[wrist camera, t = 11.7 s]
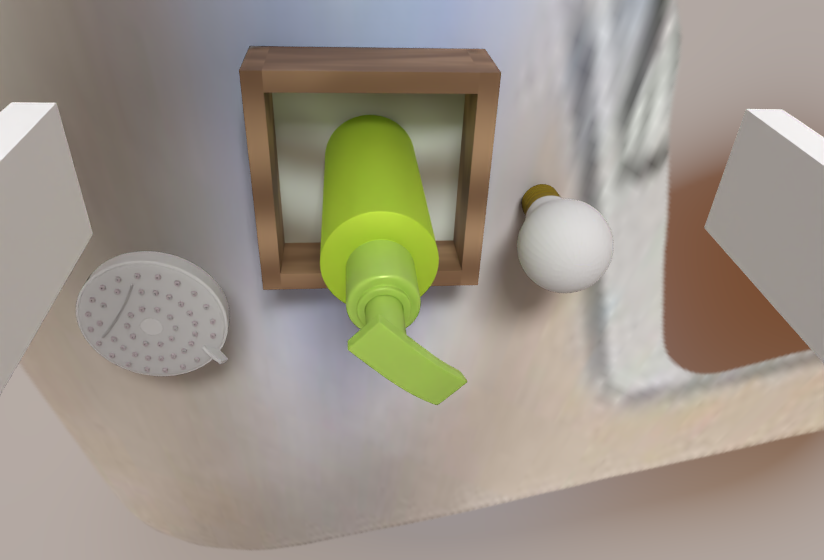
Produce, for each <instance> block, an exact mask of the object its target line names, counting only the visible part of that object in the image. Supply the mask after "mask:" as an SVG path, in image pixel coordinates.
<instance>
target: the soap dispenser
mask: <svg viewBox="0 0 824 560" xmlns="http://www.w3.org/2000/svg"><path fill="white" fill-rule="evenodd" d="M438 265H439V255H438V249H437V245H436V241H435V236H434V232H433V228H432V224H431V219H430V215H429V211H428V207H427V202H426V198H425V194H424V190H423V185H422V181H421V177H420V173H419V168H418V164H417V160H416V156H415V151H414V147H413V144H412V141H411V139H410V137H409V135H408V134H407V132H406V131H405V130H404V129H403V128H402V127H401V126H400V125H399V124H397V123H396V122H394V121H393V120H391V119H388V118H386V117H383V116H378V115H362V116H357V117H354V118H352V119H349V120H347V121H346V122H344V123H343V124H341V125H340V126H339V127H338V128H337V129H336V130H335V131H334V132H333V134H332V135H331V137H330V139H329V141H328V143H327V147H326V152H325V169H324V189H323V209H322V229H321V249H320V270H321V274H322V277H323V280H324V282H325V284H326V286H327V287H328V289H329V290H330V291H331V292H332V293H333V295H334V296H336V297H337V298H338V299H339V300H341V301H342V302H344V303H345V304H346V309H347V313H348V316H349V318H350V320H351V321H352V322H353V323H354V325H356V326H357V327H358V328H359V329H361V330H359V331H358V332H357V333H356V334H355V335H354V336H353V337H351V338H350V339H349V340H348V350H349V351H350V352H351V353H353V354H354V355H355V356H357V357H358V358H359V359H361V360H362V361H363V362H365V363H366V364H367V365H369V366H370V367H371V368H373V369H374V370H375V371H377V372H378V373H380V374H381V375H382V376H384V377H385V378H387V379H388V380H390V381H391V382H392V383H394V384H396V385H397V386H399V387H400V388H402V389H404V390H405V391H407V392H409V393H411V394H412V395H414V396H416V397H418V398H420V399H423V400H425V401H427V402H430V403H432V404H435V405H438V404H440V403H441V402H442V401H444V400H445V399H446V398H448V397H449V396H450V395H451V394H453V393H454V392H455V391H457V390H458V389H459V388H460V387H462V386H463V385H464V384H466V383H467V380H466V379H465V377H464V376H463V374H462V373H461V372H460V371H459V370H457V369H455V368H453V367H451V366H449V365H448V364H446V363H444V362H443V361H441V360H440V359H438V358H437V357H435V356H434V355H432V354H431V353H430V352H428V351H427V350H426V349H424V348H423V347H422V346H420V345H419V344H418V343H416V342H415V341H414V340H412V339H411V338H410V337H409V336H407V335H406V328H407V327H408V326H409V325H411V324H412V323H413V321H414V320H415V319H416V317H417V316H418V313H419V310H420V305H421V300H420V297H421V296H422V295H423V294H424V293H425V292H426V291H427V290H428V289H429V287H430V286H431V284H432V283H433V281H434V279H435V276H436V274H437V270H438Z"/></svg>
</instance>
